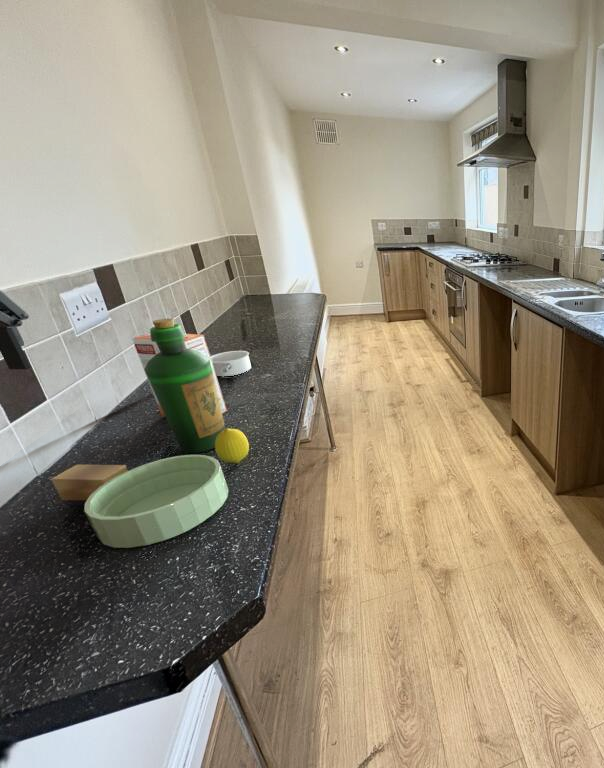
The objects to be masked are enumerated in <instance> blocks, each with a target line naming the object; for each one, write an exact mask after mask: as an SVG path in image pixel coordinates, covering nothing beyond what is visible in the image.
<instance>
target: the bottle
mask: <svg viewBox="0 0 604 768" xmlns="http://www.w3.org/2000/svg"><path fill="white" fill-rule="evenodd" d="M152 325H154V326H153V327H150V328H149V333H150V334H151V341H152V342H156V344H157V346H158V348H159V350H160V352H159V353H158V354H156V355H155V356H154V357H153V358H152V359H150V360H149V361H148V363H147V365H146V367H145V369H144V368H143V371H144V374H145V373H146V374H145V375H147V376H146V378H147V377H148V379H149V382H150V384H151V386H152V388H153V390H154V393H155V395H156V397H157V399H158V401H159V403H160V406H161V408H162V410H163V412H164V414H165V416H166V417H165V418H166V421H167V423H168V425H169V427H170V430H171V431H172V434H173V436H174V438H175V441H176V443H177V444H178V447H179V449H180V450H181V451H182V453H190V454H196V453H197V454H198V453H204V452H208V451H210V450H213V449H215V440H216V437H217V436H218V434H219V433H221V432H222V431H224V430H225V429H226V424H225V420H224V415H223V414H222V411H221V407H220V403H219V398H218V394H217V390H216V385H215V381H214V377H213V372H212V368H211V364H210V360H209V359H208V358H207V357H205V356H204V355H203V354H201V353H200V352H199V351H195V350H192V349H189V348H185V344H184V340H183V338H184V337H185V336H186V335H185V334H186V333H185V331H184V330H183V328H182V326H181V325H180V324H177V323H175V319H174V318H160V319H155V320H152ZM148 379H147V380H148ZM149 382H148V383H149ZM150 384H149V385H150Z"/></svg>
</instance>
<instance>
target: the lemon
mask: <svg viewBox="0 0 604 768" xmlns="http://www.w3.org/2000/svg"><path fill="white" fill-rule="evenodd" d="M225 428H226V427H225ZM214 449H215V452H216V455H217V456H218V458H219V459H220V460H222V461H223V462H225V463H231V464H239V463H240V462H241V461H242V460H244V459H245V458H246V457H247V456H248V454H249V451H250V443H249V440H248V438H247V437H246V435H245V433H244V432H242V430H240V429H237V428H229V427H227V428H226V429H225V430H224V431H222V432H221V433H219V434H218V436H217V437H216V440H215V448H214Z"/></svg>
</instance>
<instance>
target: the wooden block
mask: <svg viewBox="0 0 604 768" xmlns="http://www.w3.org/2000/svg"><path fill="white" fill-rule="evenodd" d="M127 471H129V470H128V468H127V465H126V464H80V463H79V464H75V465H73V466H71V467H70V468H68V469H66V470H64V471H63V472H61V473H59V474H57V475H55V476H53V477H52V478H51V482H52V484H53V486H54V487H55V490H56V492H57V494H58V496H59V497H60V499H61V500H62V501H66V503H67V504H68V506H69V507H84V506H85V502H86V501H87V499H88V498H89V496H90V495H91V494H92V493H93V492H94V491H96V490H97V489H98V488H99V487H100V486H102V485H103V484H105V483H106V482H108V481H110V480H111V479H113V478H115V477H117V476H119V475H121V474H123V473H125V472H127Z"/></svg>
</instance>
